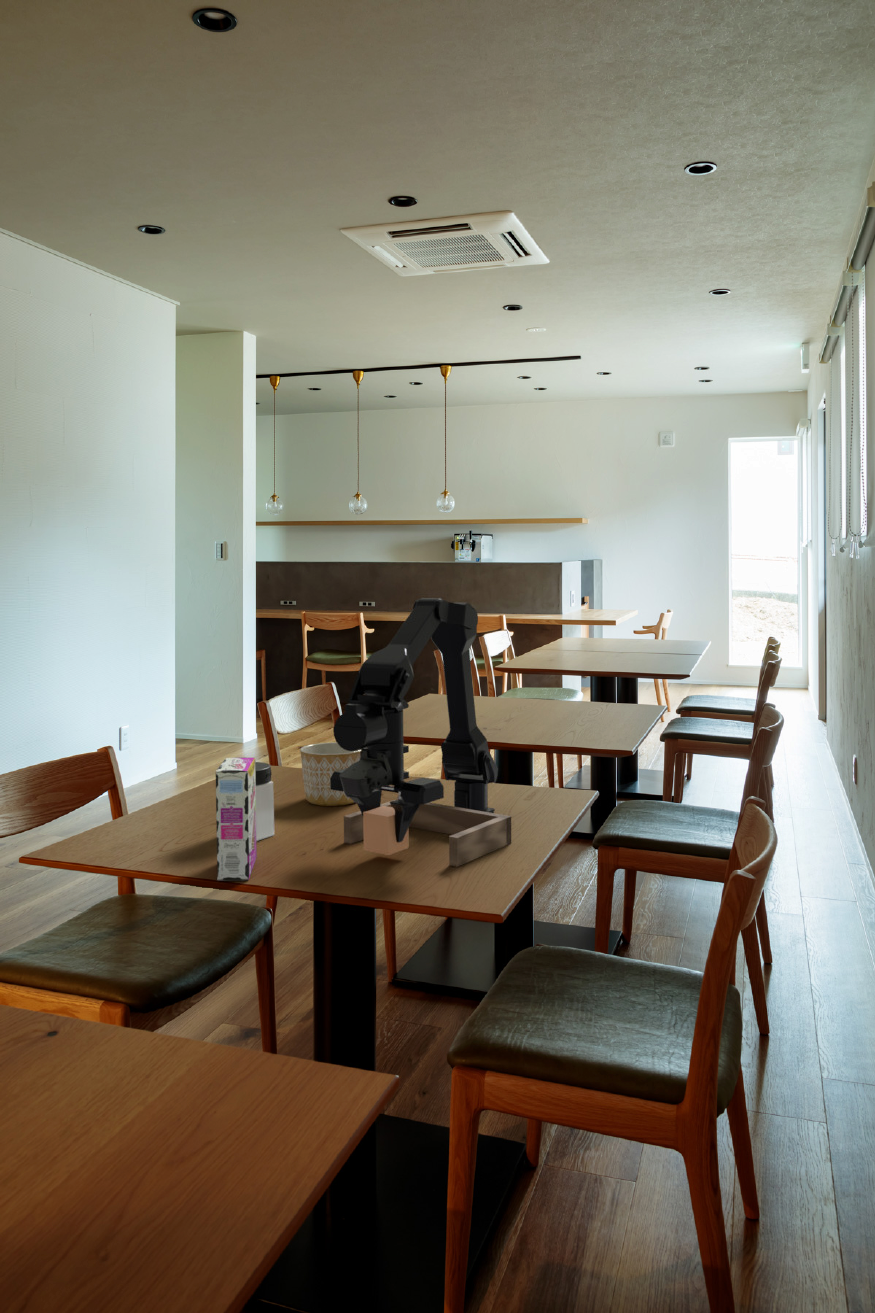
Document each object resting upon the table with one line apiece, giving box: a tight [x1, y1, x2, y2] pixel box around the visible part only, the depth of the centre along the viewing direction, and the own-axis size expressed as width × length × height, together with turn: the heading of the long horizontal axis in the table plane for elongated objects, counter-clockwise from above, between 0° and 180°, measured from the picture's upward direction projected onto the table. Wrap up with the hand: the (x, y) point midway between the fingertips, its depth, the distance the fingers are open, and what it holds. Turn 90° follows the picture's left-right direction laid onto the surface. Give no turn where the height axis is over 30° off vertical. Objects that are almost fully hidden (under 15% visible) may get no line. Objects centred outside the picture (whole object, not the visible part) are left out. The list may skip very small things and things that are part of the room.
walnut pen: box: [343, 798, 512, 868], centre depth 160 cm, size 16×23×4 cm
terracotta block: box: [363, 806, 410, 856], centre depth 151 cm, size 5×5×6 cm
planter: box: [299, 742, 361, 807], centre depth 189 cm, size 13×13×10 cm
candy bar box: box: [215, 756, 258, 882], centre depth 146 cm, size 11×5×16 cm, turn 5°
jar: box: [255, 761, 275, 842], centre depth 165 cm, size 9×8×12 cm
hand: (386, 839), depth 151 cm, fingers closed on terracotta block, 5 cm apart
